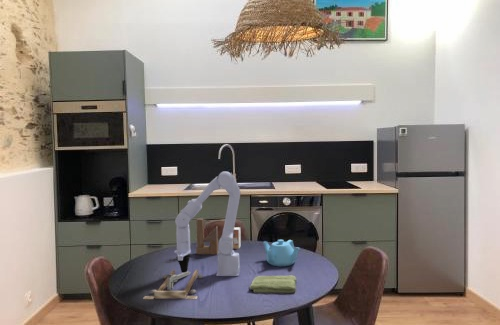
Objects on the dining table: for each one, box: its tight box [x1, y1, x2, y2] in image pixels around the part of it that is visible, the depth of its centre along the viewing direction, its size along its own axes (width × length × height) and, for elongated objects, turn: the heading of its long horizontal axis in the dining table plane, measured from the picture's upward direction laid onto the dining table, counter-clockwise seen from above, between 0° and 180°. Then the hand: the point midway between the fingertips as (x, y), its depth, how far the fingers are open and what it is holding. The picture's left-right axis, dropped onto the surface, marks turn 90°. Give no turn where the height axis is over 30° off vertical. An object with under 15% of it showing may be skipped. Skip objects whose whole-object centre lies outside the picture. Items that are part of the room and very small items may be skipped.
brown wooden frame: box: [195, 217, 219, 256], centre depth 193 cm, size 4×11×18 cm, turn 84°
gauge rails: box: [142, 269, 204, 300], centre depth 152 cm, size 20×27×2 cm
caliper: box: [166, 270, 192, 291], centre depth 156 cm, size 20×1×6 cm, turn 166°
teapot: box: [262, 239, 300, 268], centre depth 177 cm, size 15×15×11 cm
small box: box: [232, 226, 242, 250], centre depth 204 cm, size 8×6×10 cm
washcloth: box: [249, 274, 297, 294], centre depth 148 cm, size 13×18×3 cm
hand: (184, 271), depth 163 cm, fingers closed
